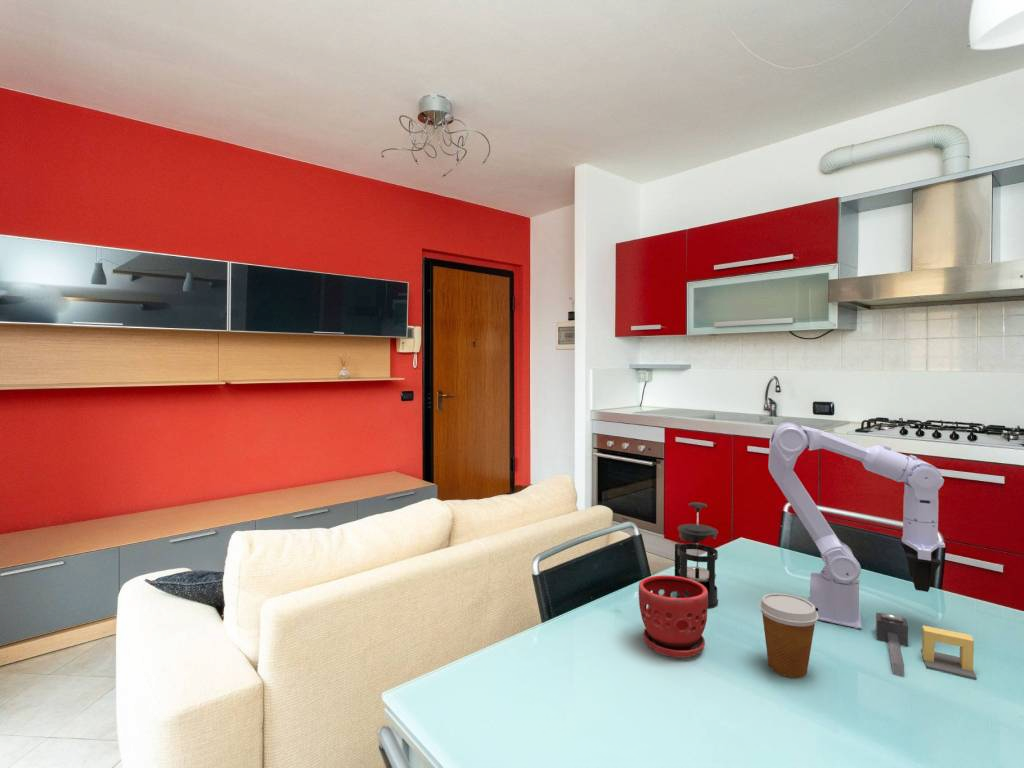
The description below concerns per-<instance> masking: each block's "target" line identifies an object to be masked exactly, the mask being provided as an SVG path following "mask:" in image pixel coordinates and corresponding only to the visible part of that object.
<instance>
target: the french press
mask: <svg viewBox="0 0 1024 768" xmlns="http://www.w3.org/2000/svg"><path fill="white" fill-rule="evenodd" d="M688 506H689V507H692V508H695V513H696V523H683V524H681V525H678V526H677V530H678V531H679V538H680V539H681V540H682V541H684V542H686V543H682V542H678V543H675V544H674V576H678V577H684V578H688V579H691V580H694V581H697V582H699V583H701V584H702V585H703V586H705V587H706V589H707V591H708V608H707V610H708V609H713V608H716V607H717V606H718V604H719V599H718V587H717V585H716V584H715V583H716V578H717V574H716V561H717V560H718V559H719V558H718V557H719V556H718V555H719V554H718V553H719V552H718V550H717V549H715V548H714V547H712V546H709V545H705V544H702V543H701V542H703V541H704V540H706V539H707V538H709V537H710V538H713V539H714V540H716V539H717V535H718V534H719V530H718V529H717V528H715V527H714V526H713V527H712V526H710V525H705V524H700V523H699V519H700V518H699V513H700V512H701V509H705V508H707V507H708V505H707V504H706V503H702V502H699V501H698V502H697V501H696V502H690V503H688ZM687 550H696V555H694V554H688V553H687ZM699 550H700V551H704V552H707V553H706V554H707V555H705V556H703V555H702V556H701V555H699ZM688 561H691V562H695V563H696V566H688ZM699 563H706V568H705V567H700V566H699ZM685 596H686V597H689V596H690V593H689V592H688V591H685ZM675 598H681V596H680V594H679V593H678V592H676V596H675Z"/></svg>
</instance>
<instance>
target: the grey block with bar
mask: <svg viewBox="0 0 1024 768" xmlns="http://www.w3.org/2000/svg"><path fill="white" fill-rule="evenodd" d="M875 636H876V640H877V641H880V642H881V641H882V642H884V643H885V642H886V644H887V647H888V648H887V649H888V653H889V654H888V655H889V660H890V665H891V671H892V674H893V675H897V676H901V677H905V663H904V658H903V653H902V649H901V646H904V647H909V625H908V621H907V618H906V617H904V616H901V615H895V614H890V613H887V612H886V613H885V612H875Z"/></svg>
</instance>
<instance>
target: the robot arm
mask: <svg viewBox="0 0 1024 768" xmlns="http://www.w3.org/2000/svg"><path fill="white" fill-rule="evenodd" d="M806 448H807V450H808V451H815V450H820V449H824V450H827V451H829V452H833V453H835V454H838V455H842V456H845V457H847V458H850V459H853V460H856V461H858V462H861V463H862V465H863V467H864V469H865V470H866V471H869V472H871V473H874V474H877V475H879V476H883V477H885V478H887V479H891V480H893V481H895V482H897V483H901V482H902V483H904V493H903V510H902V511H903V513H902V514H903V517H902V519H903V520H902V536H901V541H900V544H901V547H902V549H903V551H904V557H905V559H906V562H907V568H908V572H909V575H910V577H911V578H912V583H913V586H914V587H913V588H914V589H915V590H916V591H920V592H925V593H928V592H929V591H930V588H931V584H932V582H933V578H934V575H935V573H936V571H937V569H939V567H940V566H941V564H942V561H941V558H940V559H939V558H932V553H933V552H934V551H935V550H937V549H939V548H946V544H945V542H944V541H939V540H938V539H939V537H938V536H939V502H940V501H939V490H940V489H941V488H942V486H944V482H945V479H944V478H943V475H942V473H941V470H940V469H938V468H937V467H936V466H934V465H933V464H931V463H929V462H926V461H924V460H922V459H921V458H918V457H917V456H915V455H913V454H910V455H905V454H903V453H900V452H899V451H895V450H892V447H891V446H889V445H887V444H882V446H881V445H878V444H876V445H873V446H869V447H865V446H862V445H859V444H857V443H854V442H852V441H850V440H847V439H845V438H841V437H839V436H837V435H833V434H831V433H828V432H826V431H823V430H820V429H817V428H812V427H810V426H805V425H800V426H799V425H797V424H796V423H794V422H790V421H788V422H787V421H786V422H783V423H779V424H778V425H777V426H775V428H774V430H773V432H772V435H771V436H770V438H769V451H768V465H767V466H768V467H767V468H768V471H769V473H770V475H771V477H772V478H773V479H774V482H775V483H776V484H777V486H778V487H779V489H780V491H781V492H782V494H783V496H784V497H785V499H786V500H787V502H788V503H789V504H790V507H792V509H793V511H794V512H795V514H796V516H797V517H798V518H799V520H800V521H801V523H802V525H803V526H804V528H805V530H806V531H807V532H808V534H809V536H810V537H811V539H812V540H813V542H814V544H815V545H816V547H817V548H818V550H819V552H820V557H821V559H822V562H824V565H825V566H823V568H822V569H821V570H820V572H810V577H809V581H810V583H809V597H808V601H809V602H811V603H812V604H813V605H814V606H815V609H816V612H817V613H818V620H819V621H823V622H827V623H831V624H836V625H840V626H845V627H850V628H854V629H862V618H861V616H862V615H861V612H860V577H861V576H860V575H861V573H862V567H861V564H860V562H859V561H858V560H857V558H856V557H855V556H854V554H853V550H852V549H851V548H850V547H849V546H848V545H847V544H846V543H844V542H843V541H841V540H840V539H839V538H838V536H837V535H836V533H835V531H834V530H833V529H832V528H831V525H829V522H828V521H827V519H826V518H825V516H824V515H823V514H822V512H821V511H820V510H819V508H818V506H817V504H816V503H815V501H814V500H813V498H812V497H811V495H810V494H809V492H808V491H807V489H806V488H805V486H804V485H803V483H802V481H801V480H800V478H799V477H798V475H797V474H796V472H795V471H794V468H795V465H796V462H797V460H798V458H799V456H800V455H801V454H802V453H803V452H804V450H805V449H806ZM818 620H817V621H818Z"/></svg>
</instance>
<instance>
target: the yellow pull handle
mask: <svg viewBox="0 0 1024 768" xmlns="http://www.w3.org/2000/svg"><path fill="white" fill-rule="evenodd" d="M921 639H922V641H921V649H922V652H921V654H922V655H921V656H922V659H923V661H924V660H926V661H931V662H934V652H935V642H937V643H943V644H947V645H952V646H956V647H959V657H960V665H961V667H962V669H965V670H969V671H974V652H975V651H974V649H975V644H974V643H975V642H974V641H975V640H974V639H973V636H972V635H971V634H967V633H964V632H957V631H952V630H947V629H941V628H938V627H933V626H927V625H924V624H923V625H922V638H921Z"/></svg>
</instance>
